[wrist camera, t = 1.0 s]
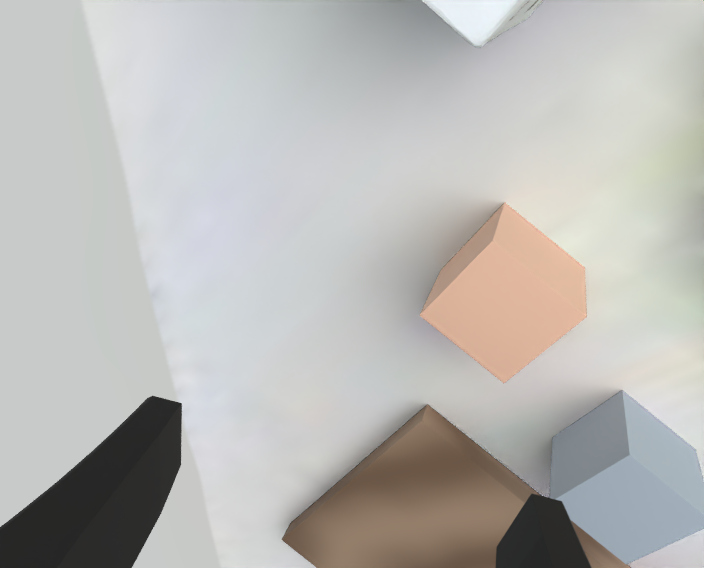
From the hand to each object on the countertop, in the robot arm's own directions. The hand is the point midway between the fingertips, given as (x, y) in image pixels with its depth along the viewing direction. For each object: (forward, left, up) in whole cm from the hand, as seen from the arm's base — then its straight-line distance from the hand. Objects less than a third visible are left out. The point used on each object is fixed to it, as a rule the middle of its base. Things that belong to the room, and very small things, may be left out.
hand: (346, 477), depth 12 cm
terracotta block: (-2, 0, -14) cm, 14 cm away
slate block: (-11, +3, -14) cm, 18 cm away
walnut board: (-12, +15, -14) cm, 24 cm away
